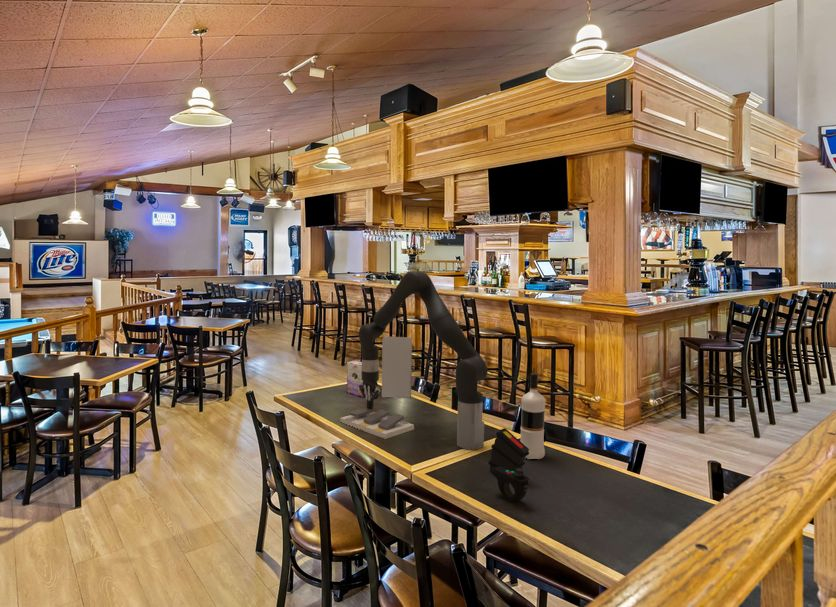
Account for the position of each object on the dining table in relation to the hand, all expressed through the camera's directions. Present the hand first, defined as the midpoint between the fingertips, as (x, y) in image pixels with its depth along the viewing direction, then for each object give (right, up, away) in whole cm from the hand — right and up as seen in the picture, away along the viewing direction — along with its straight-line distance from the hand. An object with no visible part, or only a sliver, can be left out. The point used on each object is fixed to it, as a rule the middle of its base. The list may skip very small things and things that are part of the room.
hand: (370, 408), depth 225 cm
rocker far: (-3, -2, -3) cm, 5 cm away
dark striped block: (+50, -11, -57) cm, 77 cm away
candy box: (-9, -1, +40) cm, 41 cm away
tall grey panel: (+10, -2, +37) cm, 38 cm away
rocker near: (+10, -3, -15) cm, 19 cm away
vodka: (+62, -9, -39) cm, 74 cm away
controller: (+48, -12, -72) cm, 88 cm away
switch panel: (+4, -6, -9) cm, 11 cm away
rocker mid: (+4, -2, -9) cm, 10 cm away
